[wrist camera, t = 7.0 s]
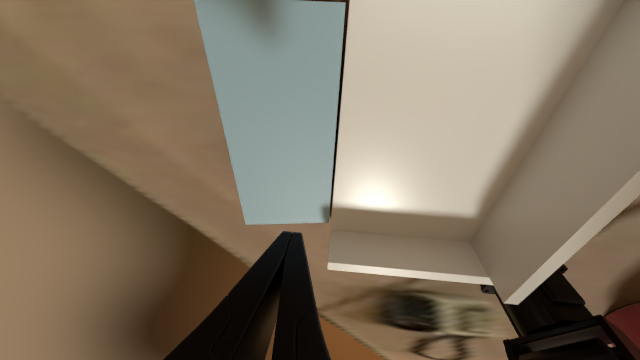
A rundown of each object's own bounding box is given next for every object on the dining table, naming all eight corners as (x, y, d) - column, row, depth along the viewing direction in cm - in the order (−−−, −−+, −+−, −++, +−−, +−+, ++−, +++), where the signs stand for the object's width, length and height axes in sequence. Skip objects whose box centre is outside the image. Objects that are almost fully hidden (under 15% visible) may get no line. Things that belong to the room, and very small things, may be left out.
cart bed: (464, 229, 23) (510, 311, 17) (331, 218, 24) (326, 292, 18) (621, -35, 12) (964, -98, 5) (352, -42, 12) (361, -105, 6)
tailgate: (328, 222, 21) (245, 224, 20) (327, 210, 22) (249, 212, 22) (345, 2, 12) (192, -4, 11) (341, 3, 13) (204, -2, 12)
